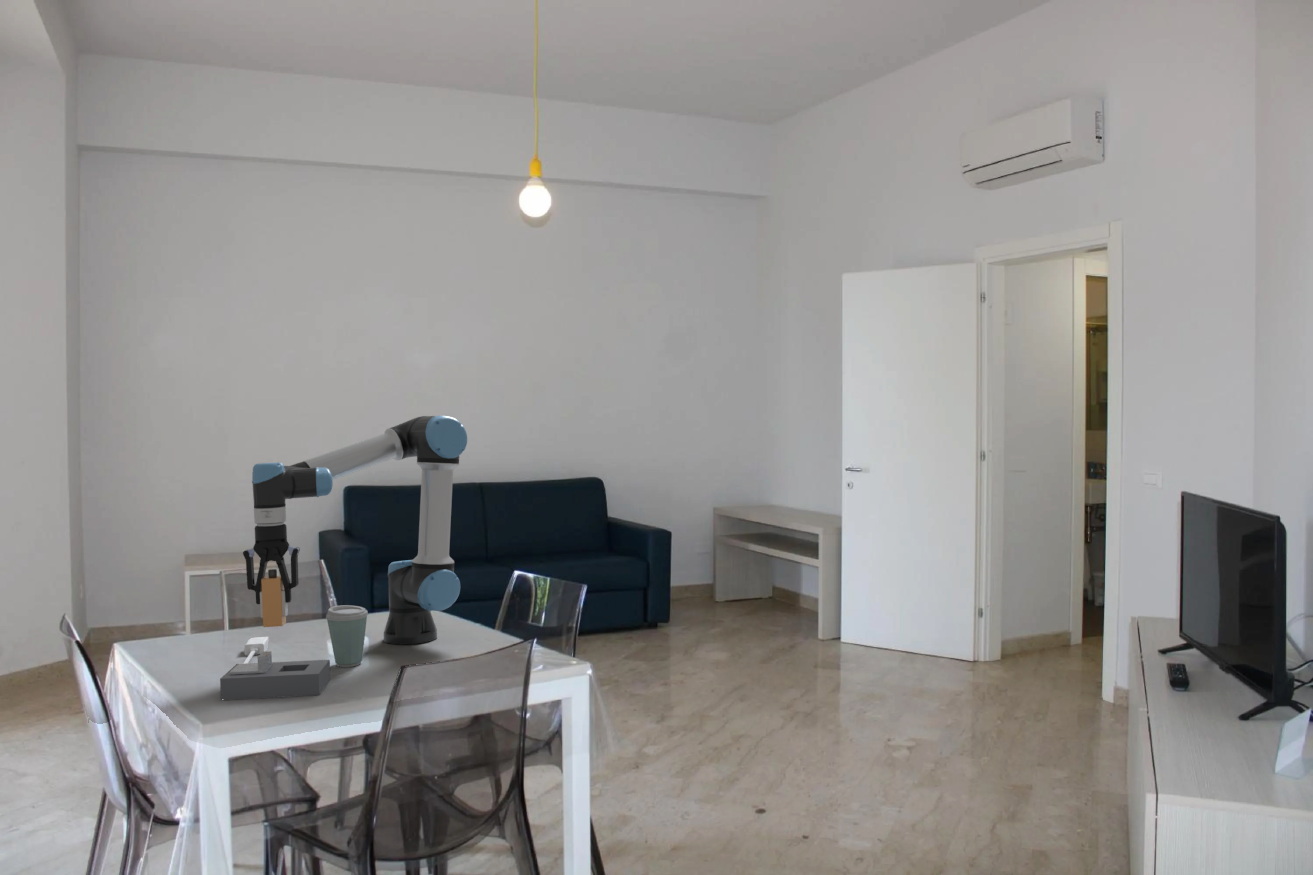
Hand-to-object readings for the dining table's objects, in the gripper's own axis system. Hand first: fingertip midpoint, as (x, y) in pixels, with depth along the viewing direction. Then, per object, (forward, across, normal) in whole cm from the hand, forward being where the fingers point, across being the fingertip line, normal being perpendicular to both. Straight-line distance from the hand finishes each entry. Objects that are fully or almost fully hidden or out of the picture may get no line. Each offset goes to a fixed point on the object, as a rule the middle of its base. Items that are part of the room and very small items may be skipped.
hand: (274, 615), depth 261 cm
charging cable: (+15, -11, +19) cm, 27 cm away
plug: (+2, 0, 0) cm, 2 cm away
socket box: (+15, +4, -15) cm, 22 cm away
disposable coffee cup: (+15, +16, +7) cm, 24 cm away
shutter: (+10, -2, -15) cm, 18 cm away
